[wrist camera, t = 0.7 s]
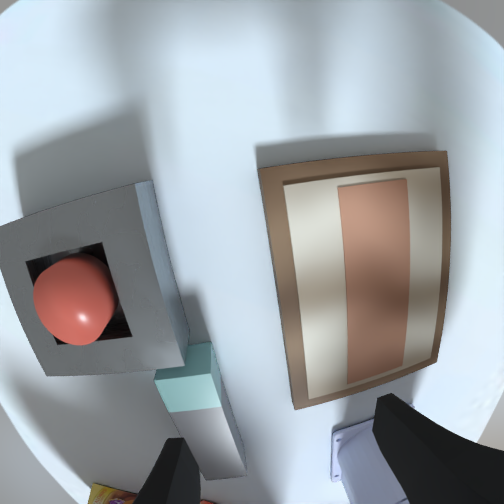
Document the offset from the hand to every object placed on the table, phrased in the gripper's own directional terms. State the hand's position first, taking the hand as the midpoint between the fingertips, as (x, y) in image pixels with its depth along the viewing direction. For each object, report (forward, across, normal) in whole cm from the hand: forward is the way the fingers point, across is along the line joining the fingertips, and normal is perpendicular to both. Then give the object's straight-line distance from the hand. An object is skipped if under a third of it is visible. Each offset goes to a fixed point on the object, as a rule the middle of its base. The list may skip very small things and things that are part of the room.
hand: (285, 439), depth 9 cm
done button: (+7, +9, -5) cm, 12 cm away
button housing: (+9, +9, -5) cm, 13 cm away
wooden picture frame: (+9, -8, -1) cm, 12 cm away
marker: (+9, +4, +6) cm, 12 cm away
